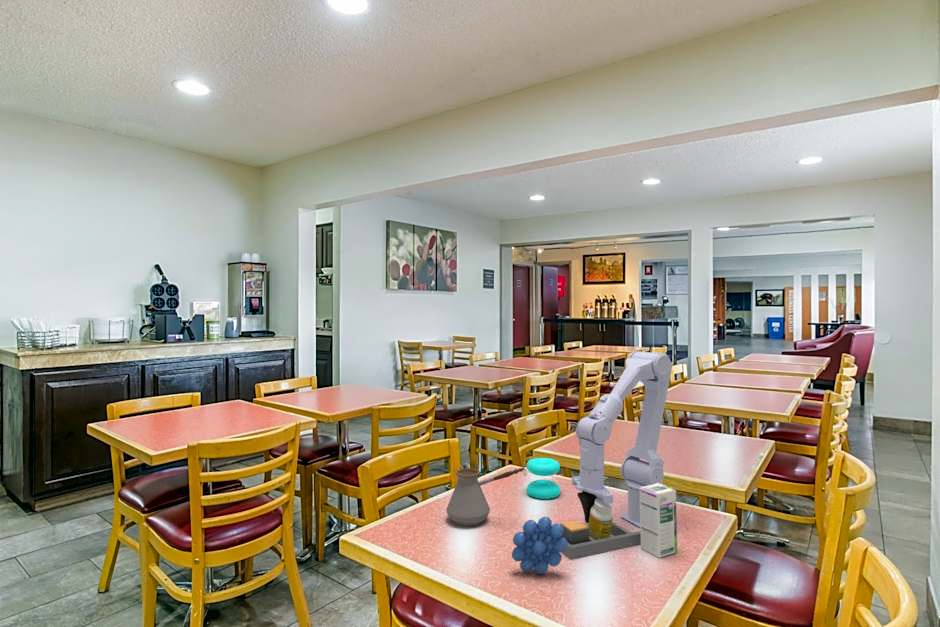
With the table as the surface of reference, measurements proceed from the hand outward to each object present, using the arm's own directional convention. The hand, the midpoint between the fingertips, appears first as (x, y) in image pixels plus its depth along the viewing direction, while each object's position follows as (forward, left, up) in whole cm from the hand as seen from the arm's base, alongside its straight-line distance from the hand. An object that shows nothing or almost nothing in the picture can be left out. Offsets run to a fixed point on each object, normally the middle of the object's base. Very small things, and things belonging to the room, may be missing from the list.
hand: (590, 522), depth 127 cm
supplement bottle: (-1, +2, -3) cm, 3 cm away
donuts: (-4, -29, -3) cm, 30 cm away
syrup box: (-10, +13, -3) cm, 16 cm away
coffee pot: (+20, -17, -3) cm, 27 cm away
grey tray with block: (+1, +5, -3) cm, 6 cm away
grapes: (+20, +11, -3) cm, 23 cm away
